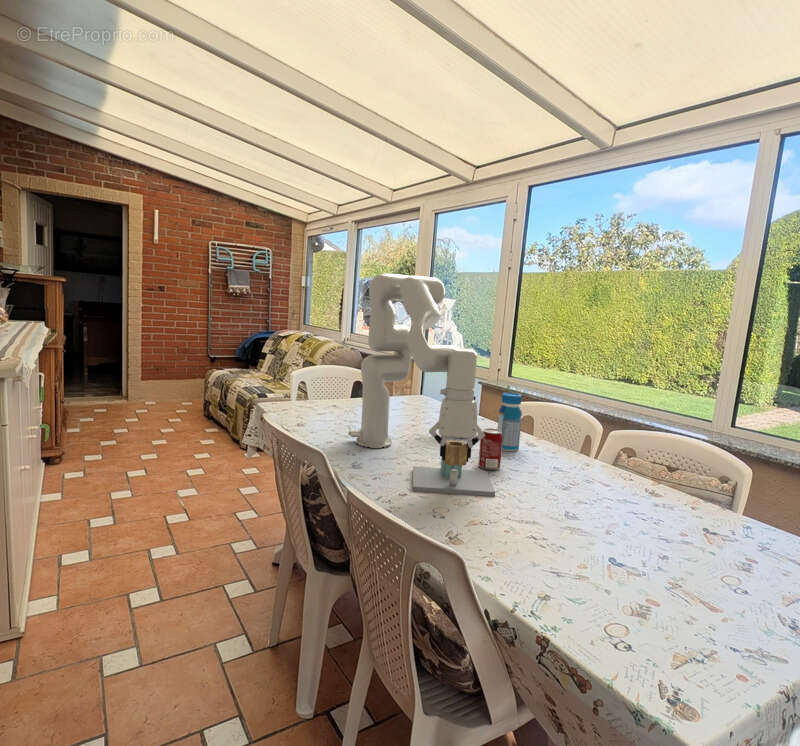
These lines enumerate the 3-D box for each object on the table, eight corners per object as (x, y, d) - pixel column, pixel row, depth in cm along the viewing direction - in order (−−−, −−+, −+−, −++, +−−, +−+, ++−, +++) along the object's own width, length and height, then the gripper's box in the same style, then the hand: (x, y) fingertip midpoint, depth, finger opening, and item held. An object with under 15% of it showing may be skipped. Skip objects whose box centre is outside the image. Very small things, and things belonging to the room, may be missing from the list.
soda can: (499, 472, 144) (503, 434, 143) (477, 469, 146) (480, 432, 144) (499, 465, 151) (503, 429, 149) (478, 462, 152) (481, 426, 151)
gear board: (412, 490, 126) (414, 468, 125) (413, 470, 142) (414, 450, 141) (494, 496, 126) (496, 474, 125) (485, 474, 142) (487, 454, 141)
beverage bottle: (509, 453, 164) (515, 397, 161) (490, 447, 170) (495, 393, 167) (523, 449, 170) (529, 395, 167) (504, 443, 176) (509, 391, 173)
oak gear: (445, 465, 125) (446, 447, 124) (443, 456, 132) (444, 439, 131) (466, 466, 125) (467, 448, 124) (463, 457, 132) (464, 440, 131)
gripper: (427, 395, 122) (423, 462, 125) (494, 399, 122) (488, 466, 124) (427, 390, 130) (423, 453, 132) (489, 394, 129) (484, 457, 132)
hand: (454, 459), depth 128 cm, fingers closed on oak gear, 5 cm apart
